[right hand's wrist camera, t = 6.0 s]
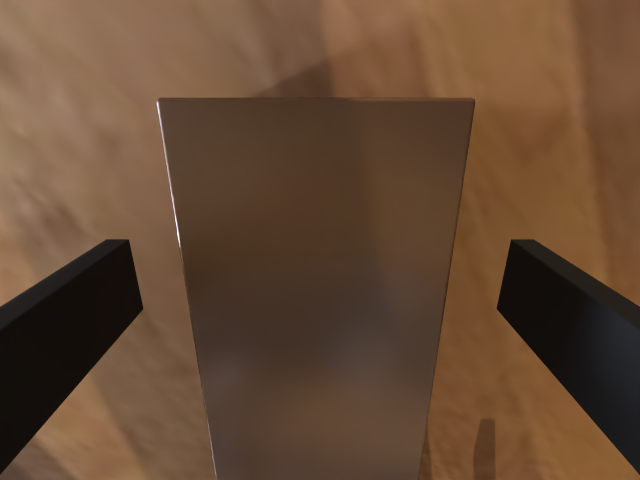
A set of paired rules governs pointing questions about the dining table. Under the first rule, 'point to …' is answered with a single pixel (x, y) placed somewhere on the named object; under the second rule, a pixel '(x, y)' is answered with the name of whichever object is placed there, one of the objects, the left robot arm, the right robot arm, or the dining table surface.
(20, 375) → the right robot arm
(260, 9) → the dining table surface
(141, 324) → the dining table surface
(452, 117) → the post
